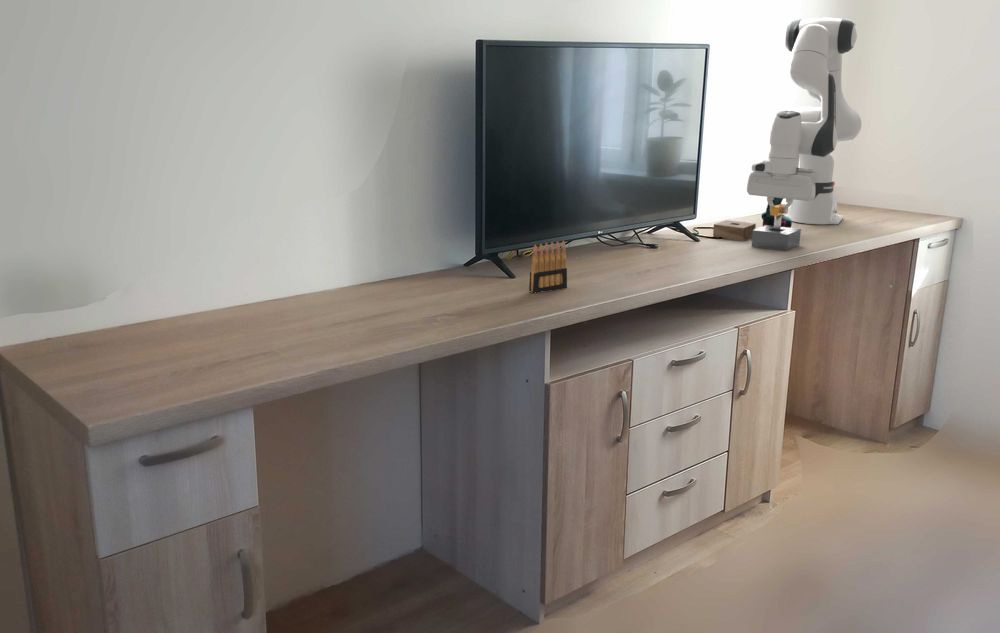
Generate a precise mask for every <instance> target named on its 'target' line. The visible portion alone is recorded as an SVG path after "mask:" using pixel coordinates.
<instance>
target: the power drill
mask: <svg viewBox="0 0 1000 633" xmlns="http://www.w3.org/2000/svg"><path fill="white" fill-rule="evenodd" d="M806 173H807V172H806ZM784 199H785V198H775V197H774V200H772V201H773V204H774V206H775V205H779V204H782V202H783V200H784ZM761 219H762V227H763V226H765V225H770V226H774V219H775V216H773V215H770V206H769V204H768V203H767V206H766V210H765V212H763V213H762V214H761ZM792 222H793V221H792V220H791V219H790V218H788V217H785V214H782V218H781V227H786V228H792V224H793V223H792Z"/></svg>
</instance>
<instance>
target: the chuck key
mask: <svg viewBox="0 0 1000 633" xmlns="http://www.w3.org/2000/svg"><path fill="white" fill-rule="evenodd" d="M786 204H787V203H786ZM786 204H785V203H781V204H779V205H775V206H772V207H771V211H770V215H773V216H775V219H774V229H773V231H780V228H781V218H782V214H783V215H785V214H784V213H781V211H782V207H785V206H786Z"/></svg>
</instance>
